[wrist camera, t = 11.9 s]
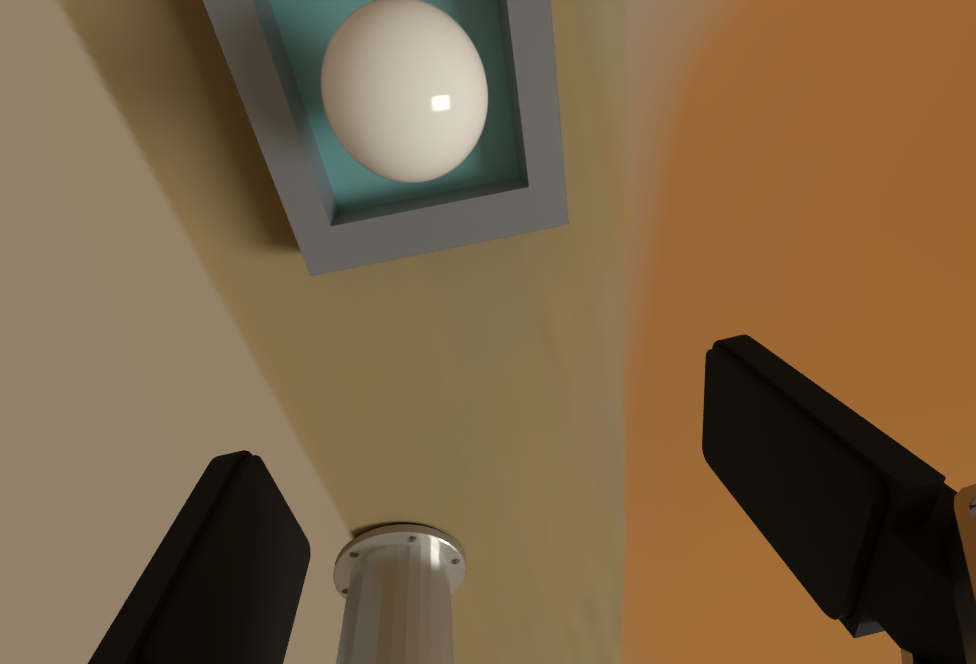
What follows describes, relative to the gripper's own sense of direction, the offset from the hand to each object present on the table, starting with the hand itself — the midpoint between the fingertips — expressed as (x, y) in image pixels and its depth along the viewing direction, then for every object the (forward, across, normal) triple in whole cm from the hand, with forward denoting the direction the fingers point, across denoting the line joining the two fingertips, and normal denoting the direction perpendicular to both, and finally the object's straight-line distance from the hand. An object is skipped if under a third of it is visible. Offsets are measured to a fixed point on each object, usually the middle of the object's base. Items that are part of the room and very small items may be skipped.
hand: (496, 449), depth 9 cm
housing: (+22, +1, -7) cm, 23 cm away
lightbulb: (+21, +1, -7) cm, 22 cm away
